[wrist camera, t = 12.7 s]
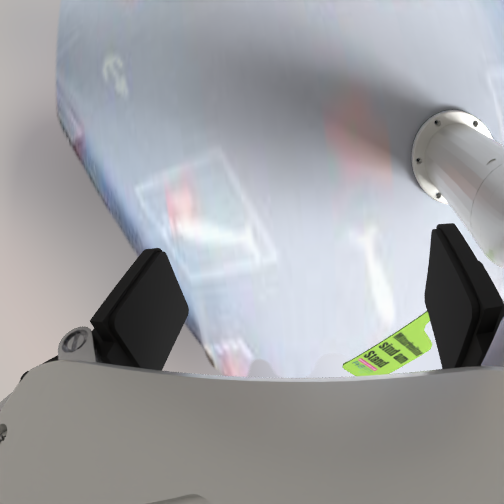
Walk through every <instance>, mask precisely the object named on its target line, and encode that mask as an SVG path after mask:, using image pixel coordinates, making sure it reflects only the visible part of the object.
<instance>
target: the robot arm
mask: <svg viewBox="0 0 504 504" xmlns="http://www.w3.org/2000/svg"><path fill="white" fill-rule="evenodd" d="M436 120H437V123H436V124H435V121H436ZM473 121H474V123H473ZM417 158H419V160H418V161H416V159H417ZM412 167H413V172H414V174H415V177H416V179H417V181H418V183H419V185H420V186H421V187H422V189H423V190H424V191H425V192H426V193H427V194H428V195H429V196H430V197H431V198H433V199H434V200H436V201H438V202H441V203H443V204H449V205H450V206H451V208H452V209H453V210H454V212H455V213H456V214H457V216H458V217H459V218H460V220H461V221H462V223H463V224H464V225H465V227H466V228H467V230H468V231H469V233H470V234H471V236H472V237H473V238H474V240H475V241H476V243H477V244H478V246H479V247H480V249H481V250H482V252H483V253H484V254H485V255H486V257H487V258H488V259H489V260H490V261H492V262H493V263H494V264H496V265H497V266H499V267H501V268H504V146H503V145H502V144H500V143H498V142H497V141H495V140H493V138H492V136H491V133H490V132H489V130H488V129H487V127H486V126H485V125H484V124H483V123H482V122H481V121H480V120H479V119H478V118H476V117H475V116H473V115H471V114H469V113H466V112H463V111H459V110H448V111H443V112H440V113H438V114H436V115H434V116H432V117H431V118H430V119H428V120H427V121H426V122H425V123H424V124H423V125H422V127H421V128H420V130H419V131H418V133H417V135H416V137H415V140H414V143H413V147H412ZM436 193H438V194H436ZM425 304H426V308H427V311H428V315H429V318H430V321H431V325H432V329H433V332H434V336H435V340H436V344H437V348H438V352H439V356H440V360H441V364H442V368H443V369H439V370H430V371H420V372H410V373H398V374H384V375H370V376H353V377H329V378H260V377H259V378H258V377H235V376H216V375H203V374H190V373H179V372H169V371H162V369H163V366H164V364H165V362H166V360H167V358H168V356H169V354H170V351H171V350H172V347H173V345H174V343H175V341H176V339H177V337H178V335H179V333H180V330H181V328H182V326H183V324H184V322H185V320H186V318H187V316H188V312H189V309H188V305H187V303H186V300H185V298H184V296H183V293H182V291H181V289H180V286H179V284H178V281H177V279H176V277H175V274H174V272H173V269H172V267H171V264H170V262H169V259H168V257H167V255H166V253H165V252H162V250H161V249H159V248H154V249H145V250H144V251H143V252H142V253H141V255H140V256H139V257H138V258H137V260H136V261H135V262H134V263H133V265H132V266H131V267H130V268H129V270H128V271H127V272H126V274H125V275H124V276H123V277H122V279H121V280H120V281H119V283H118V284H117V285H116V287H115V288H114V289H113V290H112V292H111V293H110V294H109V296H108V297H107V298H106V300H105V301H104V302H103V304H102V305H101V307H100V308H99V309H98V311H97V312H96V313H95V315H94V316H93V317H92V319H91V320H90V322H91V324H92V325H93V327H94V329H93V331H91V329H89V328H88V327H78V328H75V329H73V330H71V331H70V332H68V333H67V334H66V335H65V336H64V337H63V338H62V340H61V342H60V343H59V348H58V356H56V357H54V358H52V359H50V360H48V361H46V362H45V363H43V364H41V365H39V366H36V367H35V368H33V369H31V370H30V371H27V372H25V373H24V374H23V376H22V377H21V380H20V382H19V384H18V385H17V387H16V388H15V389H14V391H13V392H12V393H11V394H10V395H8V396H7V397H6V398H5V399H4V400H3V401H1V402H0V504H504V301H503V300H502V298H501V297H500V295H499V293H498V291H497V289H496V287H495V285H494V284H493V282H492V280H491V278H490V276H489V275H488V273H487V271H486V270H485V268H484V266H483V264H482V263H481V262H480V261H478V260H477V258H476V257H475V255H474V253H473V252H472V250H471V248H470V247H469V245H468V244H467V242H466V241H465V239H464V237H463V236H462V234H461V233H460V231H459V230H458V228H457V227H456V225H455V224H454V223H451V224H438V225H437V229H433V230H432V235H431V246H430V256H429V266H428V274H427V281H426V289H425Z"/></svg>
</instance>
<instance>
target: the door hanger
mask: <svg viewBox="0 0 504 504" xmlns="http://www.w3.org/2000/svg"><path fill="white" fill-rule="evenodd" d="M429 321H430V318H429V315H428V311H427V312H426V313H424V314H423V315H421V316H420V317H418V318H417V319H416V320H414V321H413V322H411V323H410V324H408V325H407V326H405V327H404V328H402V329H401V330H399V331H398V332H396V333H395V334H393V335H392V336H390V337H388V338H387V339H385V340H384V341H382V342H381V343H379V344H377V345H376V346H374V347H372V348H371V349H369V350H368V351H366V352H364V353H363V354H361V355H359V356H358V357H356V358H354V359H352V360H351V361H349V362H348V361H347V362H345V363H343V368H344V369H345V370H347V371H348V372H350V373H352V374H353V375H355V376H370V375H384V374H389V373H391V372H393V371H395V370H397V369H398V368H400V367H402V366H403V365H405V364H407V363H409V362H410V361H412V360H414V359H416V358H417V357H419V356H421V355H422V354H424V353H425V352H427V351H429V350H430V349H431V346H432V342H431V341H430V339H429V338H428V336H427V334H426V333H425V331H424V328H425V325H426V324H427V323H428V322H429Z"/></svg>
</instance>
